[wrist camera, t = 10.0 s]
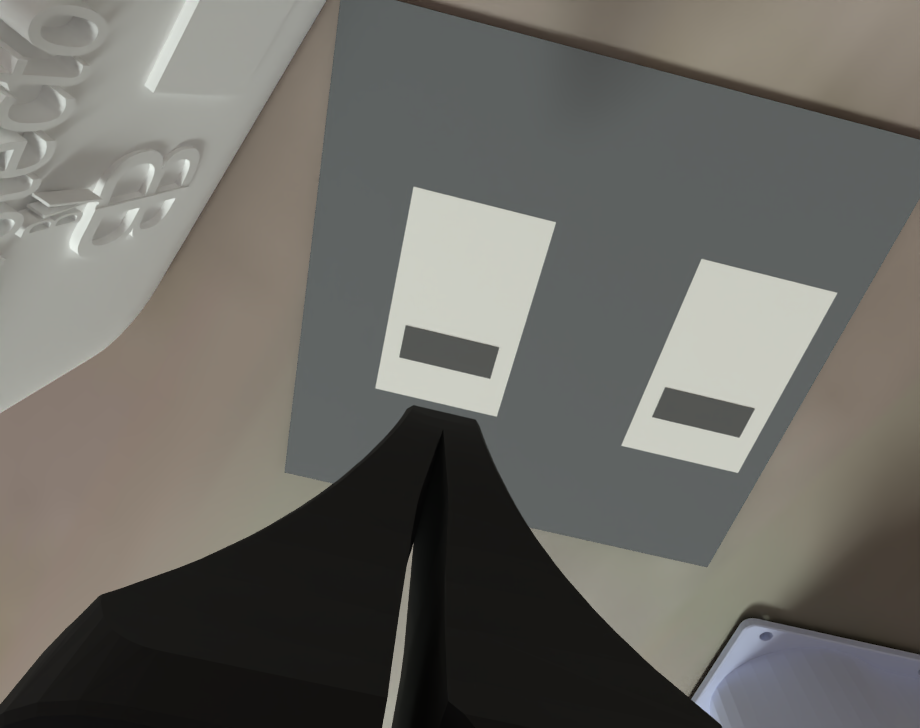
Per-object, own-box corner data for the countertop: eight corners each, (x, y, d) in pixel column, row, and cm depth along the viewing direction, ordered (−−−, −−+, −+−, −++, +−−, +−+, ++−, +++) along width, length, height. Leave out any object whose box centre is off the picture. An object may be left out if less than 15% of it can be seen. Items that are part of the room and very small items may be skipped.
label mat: (943, 146, 16) (949, 147, 15) (705, 563, 22) (707, 567, 22) (343, -13, 15) (341, -14, 15) (286, 469, 22) (284, 472, 21)
